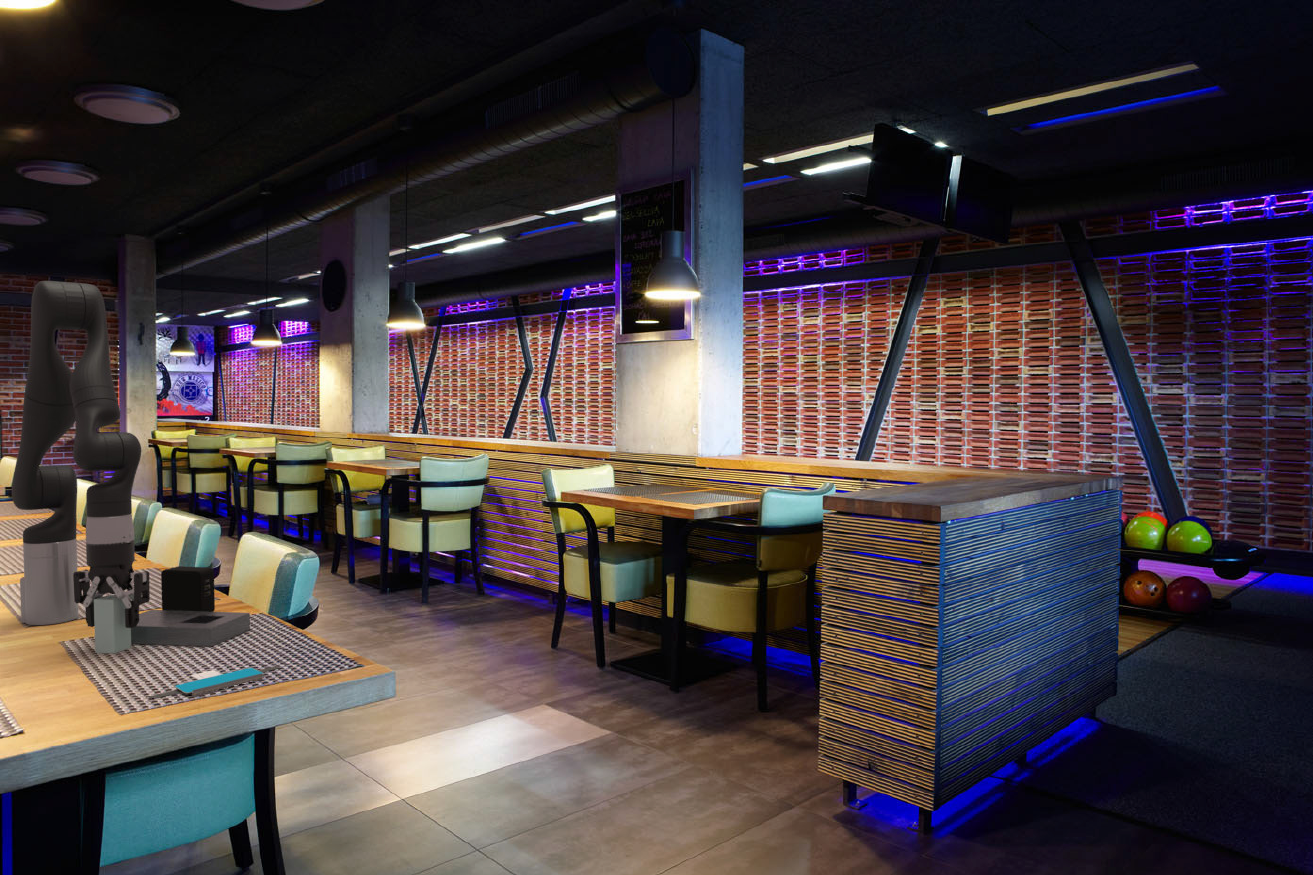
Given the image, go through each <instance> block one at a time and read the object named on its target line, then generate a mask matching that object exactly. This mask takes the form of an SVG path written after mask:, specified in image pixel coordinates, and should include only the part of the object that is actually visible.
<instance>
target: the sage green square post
mask: <svg viewBox="0 0 1313 875" xmlns="http://www.w3.org/2000/svg"><path fill="white" fill-rule="evenodd" d="M129 598H130V597H129ZM125 609H126V606H125V604H124V603H123V601H122V600H121V599H119V598H118V597H117V595H116V594H108V595H105V596H104V595H103V596H102V597H101V598H97V599H94V625H95V626H94V650H95V651H94V652H95V654H117V653H120V652H122V651H126V650H128V649H131V648H132V644H131V628H126V627H125Z"/></svg>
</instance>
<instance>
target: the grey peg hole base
mask: <svg viewBox="0 0 1313 875" xmlns="http://www.w3.org/2000/svg"><path fill="white" fill-rule="evenodd" d="M250 615H251V613H250V612H236V611H235V612H233V611H231V612H229V611H213V612H206V611H174V610H162V609H150V610H147V611H144V612H141V613H140V612H139V623H138V624H137V626H135V627H132V628H131V645H150V646H151V645H153V646H154V645H155V646H157V645H158V646H180V647H204V648H205V647H210V648H211V647H214V646H216V645H219V644H221V643H223V642H225V641H228V640H229V639H233V638H235V637H237V636H239V635H242V634H243V633H245V632H249V631H250V630H251V619H250V618H251V616H250Z"/></svg>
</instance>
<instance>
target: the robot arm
mask: <svg viewBox="0 0 1313 875" xmlns="http://www.w3.org/2000/svg"><path fill="white" fill-rule="evenodd" d="M56 330H59V331H61V330H62V331H64V330H65V331H83V332H84V331H85V333H86V337H87V339H86V342H87V343H86V346H85V349H84V351H83V352H82V355H81V357H80V358H79V360H78V362H77V364H76V365H75V367H74V369H73V371H72V369H71V367H70V366H69V365H68V364H67V362H66V361H65V360H64V358H63V357H62V355H61V354H60V351H59V349H58V348H57V346H56V341H55V332H56ZM29 347H30V350H29V360H28V368H27V375H26V383H25V387H24V395H23V404H22V406H23V407H22V419H21V421H22V422H21V433H20V441H19V447H18V452H17V457H16V458H17V459H16V462H15V467H14V471H13V472H14V473H13V476H12V477H13V478H12V483H11V498H12V502H13V504H14V505H15V506H14V507H16V508H17V509H19V510H21V511H23V510H24V511H35V510H36V511H38V510H47V509H48V510H49V509H54V512H53V514H51V516H49V517H48V518H46V519H44V520H42V521H41V522H38V523H36V524H34V525H30V526H28V527H26V528H25V529H23V532H22V550H23V551H22V552H23V554H22V555H23V556H22V557H23V577H21V578H19V591H20V593H19V595H20V623H22V624H23V623H24V624H26V625H29V626H46V625H53V624H54V625H55V624H62V623H66V622H70V621H74V620H76V619H78V618H79V617H80V615H79V613H80V612H79V611H80V609H79V604H81V605H83V606H84V608H85V622H86V624H87V627H90V628H94V627H95V625H94V599H97V598H101V597H104V595H105V596H106V594H109V595H117V597H118V598H119V599H121V600H122V601H123V603H124V604H125V606H126V609H125V627H126V628H132V627H135V626H137V624H138V623H139V614H140V607H141V605H143V604H146V603H149V602H150V596H151V595H150V593H151V591H150V572H149V571H148V570H144V571H135V570H134V568H133V564H134V562H135V559H136V556H135V528H134V519H133V514H132V513H133V511H132V510H133V509H132V508H133V507H132V506H133V505H132V491H133V486H134V481H135V479H136V478H135V477H136V475H137V470H138V468H139V464H140V461H141V458H142V446H141V443H140V440H139V439H138V437H137V436H135V434H133V433H131V432H127V431H126V432H123V431H121V432H97V430H96V429H99V428H103V427H108V426H111V425H113V424H115V423H116V422H118V421H119V420H120V418H121V408H120V405H119V401H118V397H117V393H116V388H115V385H114V380H113V376H112V369H111V358H110V356H111V355H110V344H109V332H108V322H107V311H106V305H105V300H104V297H103V295H102V293H101V291H100V289H99V288H98V287H97V286H95V285H94V284H89V283H82V282H68V281H67V282H66V281H58V280H57V281H54V280H42V281H39V282H37V284H36V285H35V286H34V289H33V291H32V296H31V309H30V346H29ZM74 424H75V436H74V441H73V442H74V443H73V450H72V458H73V461H74V463H75V464H76V465H77V467H78V468H80V469H82V471H86V472H100V471H101V472H102V471H103V472H104V471H113V472H114V473H113V475H112V476H111V478H109V480H106V481H102V482H100V483H99V482H98V483H95V484H92V485H90V486H89V487H88V488H87V489H86V495H85V496H86V497H85V498H86V501H85V502H86V523H85V548H86V549H85V551H86V552H85V553H86V556H85V558H86V559H85V560H86V565H87V566H88V567H89V569H87V568H86V569H82V570H78V547H77V546H78V544H77V543H78V542H77V522H78V520H77V518H78V516H77V510H78V509H77V504H78V503H77V502H78V479H77V473H76V471H75V469H74V468H73V467H72V466H71V465H68V464H52V465H41V462H42V460H43V459H44V456H45V455H46V453H47V452H48V451H49V449H50V448H52V447H53V445H54V444H56V443H57V442H58V441H59V440H60V439H61V438H63V436H64V435H65V434H66V433H67V432H68V431H69V430H70V429H71V428H72V427H73V425H74ZM129 597H130V598H129Z"/></svg>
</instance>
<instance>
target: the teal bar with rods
mask: <svg viewBox="0 0 1313 875" xmlns="http://www.w3.org/2000/svg"><path fill="white" fill-rule="evenodd" d="M276 669H281V667H280V666H277V665H274V666H270V667H267V668H260V669H256V668H254V667H248V668H244V669H239V670H236V671H229V672H226V673H222V674H221V672H218V671H216V670H213V669H212V670H208V671H204V672H203V671H202V672H199V673H195V674H190V677H191V678H193V679H195V680H192V681H187V682H183V683H180V684H175V685H174V688H176V689H175V690H170V691H166V692H163V693H159V694H154V695H150V696H148V697H149V698H150V699H152V698H154V699H157V698H158V699H159V698H163V697H166V696H167V697H169V696H173V695H176V694H180V695H182V696H183V695H187V696H191V695H192V698H194V697H195V698H196V697H198V696H203V695H206V693H207V694H210V693H209V692H211V693H214V692H213V691H215V692H217V691H216V690H219V689H223V688H227V687H230V686H234V685H238V684H242V683H246V682H250V681H256V682H259V681H258V680H260V681H262V680H261V679H263V678H264V676H265V674H264V673H267V671H269V672H270V671H272V670H276ZM219 691H220V690H219Z"/></svg>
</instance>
